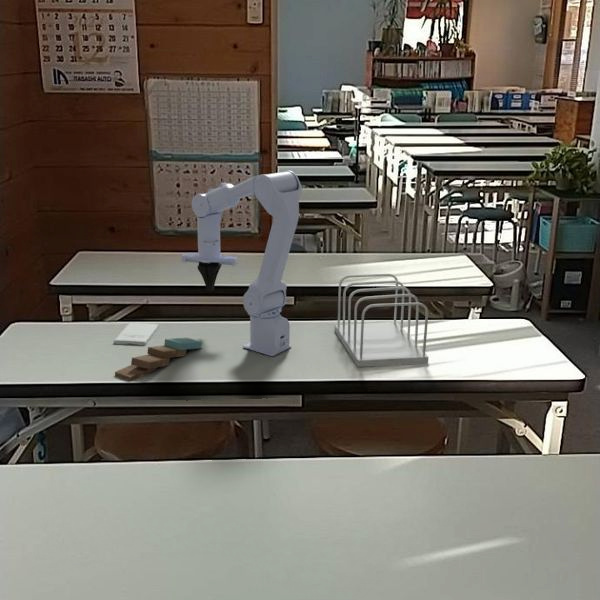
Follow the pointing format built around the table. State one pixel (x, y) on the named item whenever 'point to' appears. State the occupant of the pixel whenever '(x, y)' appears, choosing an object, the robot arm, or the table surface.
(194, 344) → the domino
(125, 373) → the domino
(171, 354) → the domino
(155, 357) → the domino
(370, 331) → the file sorter
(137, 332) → the external hard drive
